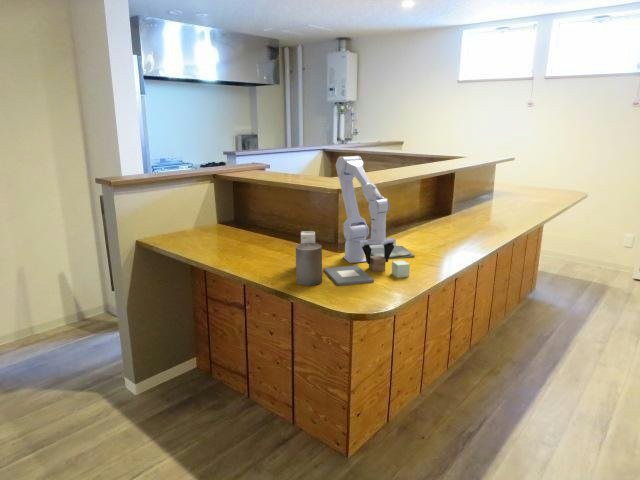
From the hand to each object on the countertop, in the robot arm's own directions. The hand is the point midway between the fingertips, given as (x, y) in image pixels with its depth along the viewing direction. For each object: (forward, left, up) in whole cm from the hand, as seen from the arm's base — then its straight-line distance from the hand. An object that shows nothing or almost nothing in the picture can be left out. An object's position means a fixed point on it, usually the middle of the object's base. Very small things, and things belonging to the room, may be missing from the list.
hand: (377, 262), depth 181 cm
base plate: (+5, -14, -3) cm, 15 cm away
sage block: (+9, +6, -3) cm, 11 cm away
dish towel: (-20, +14, -4) cm, 25 cm away
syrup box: (-10, -26, -3) cm, 28 cm away
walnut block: (0, 0, -3) cm, 3 cm away
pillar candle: (+7, -30, -3) cm, 31 cm away
